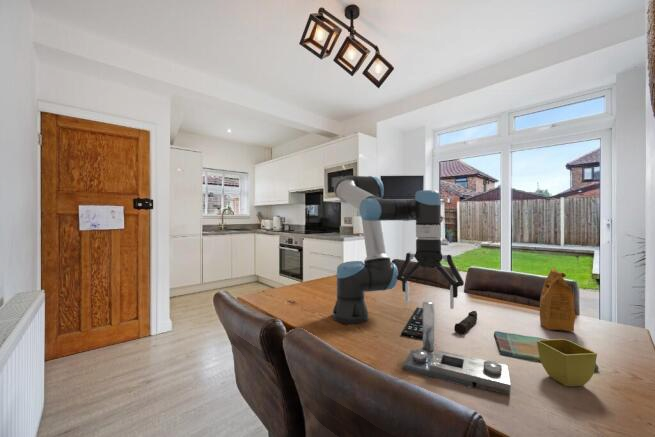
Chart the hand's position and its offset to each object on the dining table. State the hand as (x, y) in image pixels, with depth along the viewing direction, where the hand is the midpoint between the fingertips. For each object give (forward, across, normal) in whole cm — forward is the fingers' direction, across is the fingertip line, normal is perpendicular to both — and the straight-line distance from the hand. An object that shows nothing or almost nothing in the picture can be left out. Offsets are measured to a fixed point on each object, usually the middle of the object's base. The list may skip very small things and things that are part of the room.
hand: (429, 304), depth 89 cm
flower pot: (+15, +34, -1) cm, 37 cm away
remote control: (+15, -8, +22) cm, 28 cm away
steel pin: (+14, 0, 0) cm, 14 cm away
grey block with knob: (+15, +12, -11) cm, 21 cm away
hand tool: (+15, +9, +27) cm, 33 cm away
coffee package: (+15, +40, +43) cm, 61 cm away
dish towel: (+15, +31, +16) cm, 38 cm away
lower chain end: (+15, +4, -11) cm, 18 cm away
